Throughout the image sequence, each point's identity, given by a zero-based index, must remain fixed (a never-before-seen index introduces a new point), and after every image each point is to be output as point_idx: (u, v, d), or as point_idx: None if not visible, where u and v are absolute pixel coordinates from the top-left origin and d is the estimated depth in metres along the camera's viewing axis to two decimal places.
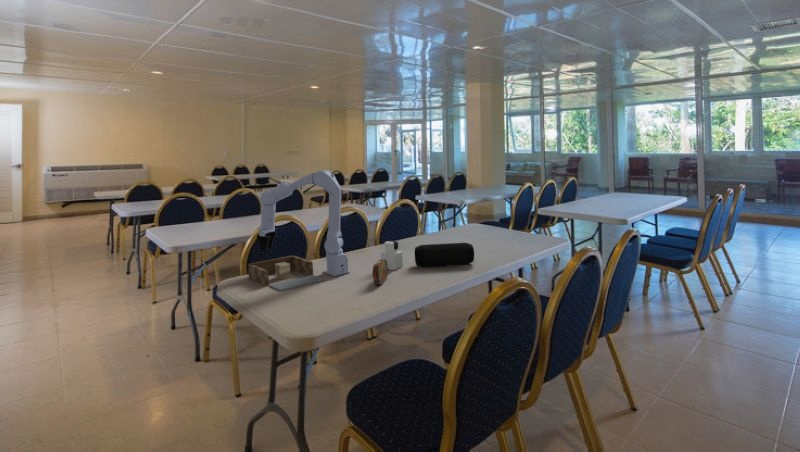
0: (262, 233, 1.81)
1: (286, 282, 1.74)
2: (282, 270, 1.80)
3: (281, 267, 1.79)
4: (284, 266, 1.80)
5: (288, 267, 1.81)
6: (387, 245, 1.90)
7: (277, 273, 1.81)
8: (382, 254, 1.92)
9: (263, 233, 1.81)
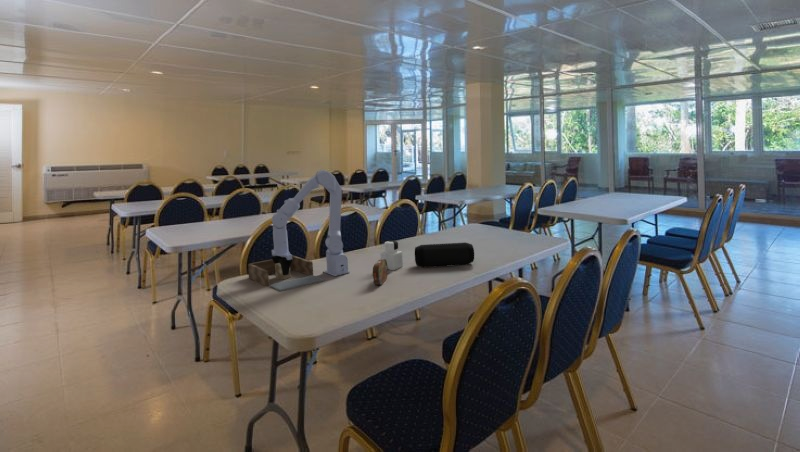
0: (290, 256, 1.76)
1: (286, 282, 1.74)
2: None
3: None
4: None
5: None
6: (387, 245, 1.90)
7: (277, 273, 1.81)
8: (382, 254, 1.92)
9: (291, 256, 1.76)
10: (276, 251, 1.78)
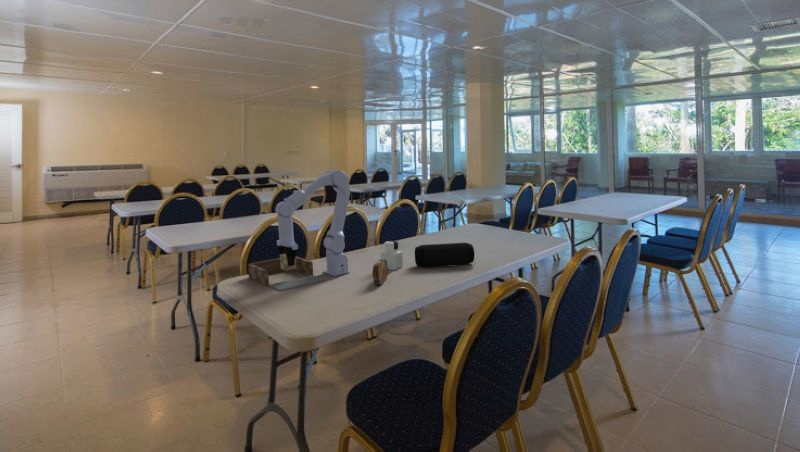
0: (295, 246, 1.71)
1: (286, 282, 1.74)
2: None
3: (286, 257, 1.74)
4: None
5: None
6: (387, 245, 1.90)
7: (282, 264, 1.76)
8: (382, 254, 1.92)
9: (296, 246, 1.71)
10: (281, 241, 1.74)
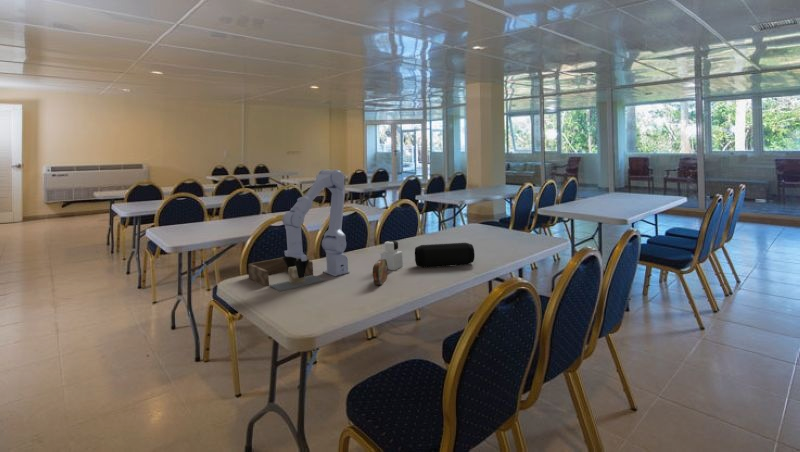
0: (304, 257, 1.67)
1: (286, 282, 1.74)
2: (296, 274, 1.71)
3: (295, 271, 1.70)
4: None
5: None
6: (387, 245, 1.90)
7: (290, 277, 1.72)
8: (382, 254, 1.92)
9: (305, 257, 1.67)
10: (290, 252, 1.69)
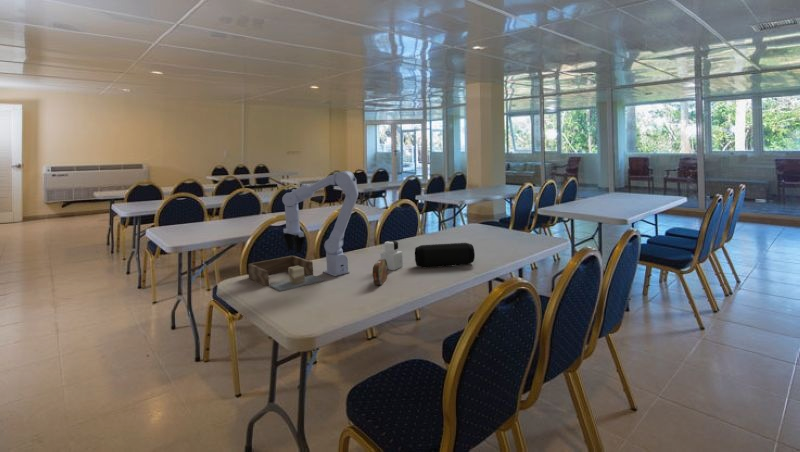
0: (302, 233, 1.83)
1: (286, 282, 1.74)
2: (296, 274, 1.71)
3: (295, 271, 1.70)
4: (298, 270, 1.71)
5: (302, 271, 1.72)
6: (387, 245, 1.90)
7: (290, 277, 1.72)
8: (382, 254, 1.92)
9: (302, 233, 1.83)
10: (288, 229, 1.85)
